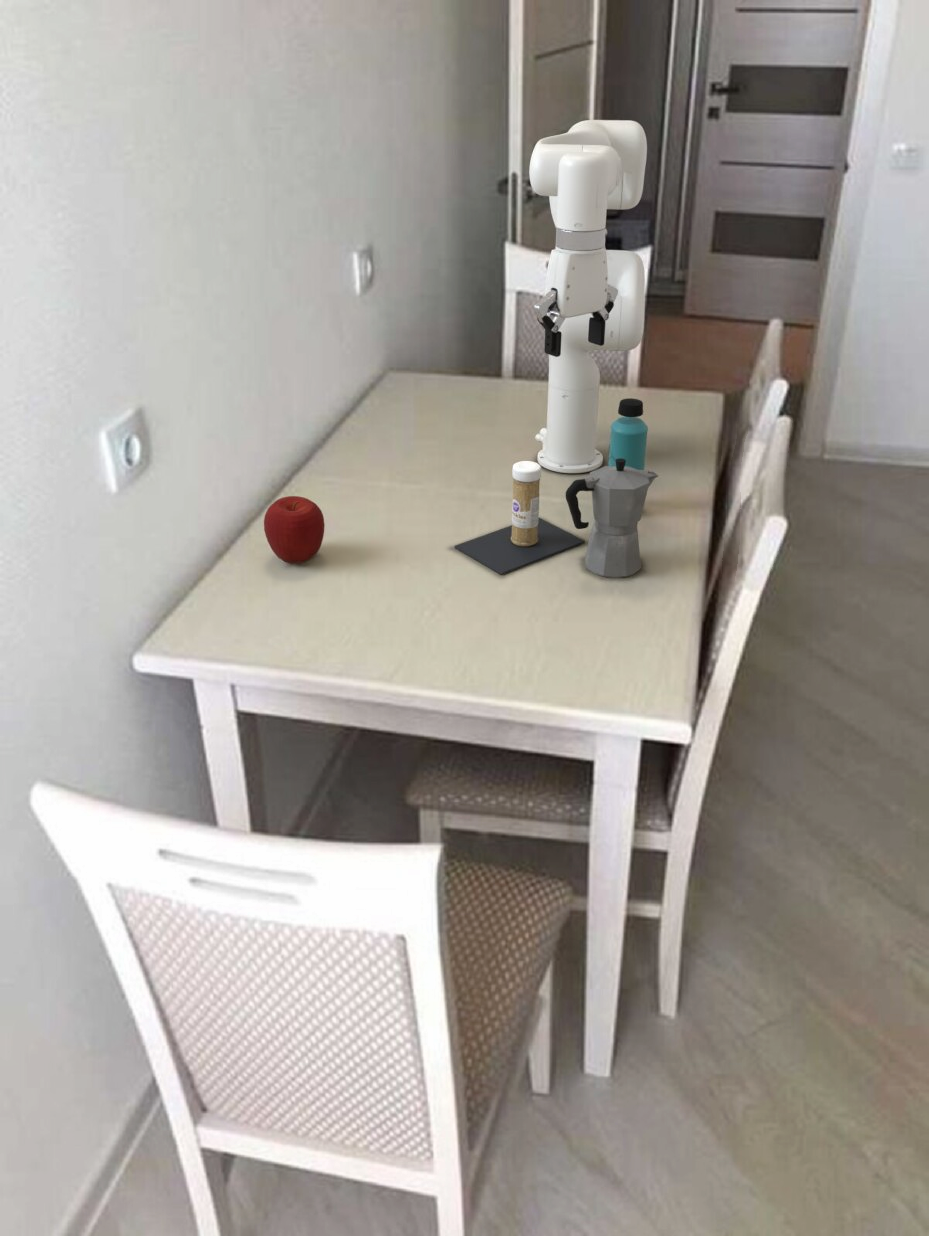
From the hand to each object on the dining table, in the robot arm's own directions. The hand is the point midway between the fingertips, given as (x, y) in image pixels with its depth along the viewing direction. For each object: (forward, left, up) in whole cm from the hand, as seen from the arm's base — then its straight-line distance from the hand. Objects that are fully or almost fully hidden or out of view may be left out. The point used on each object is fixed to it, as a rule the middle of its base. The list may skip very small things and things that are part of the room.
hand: (574, 349), depth 172 cm
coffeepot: (+20, -10, -28) cm, 36 cm away
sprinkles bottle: (+6, -15, -28) cm, 32 cm away
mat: (+6, -16, -28) cm, 33 cm away
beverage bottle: (+7, +7, -28) cm, 30 cm away
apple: (-13, -47, -28) cm, 56 cm away
